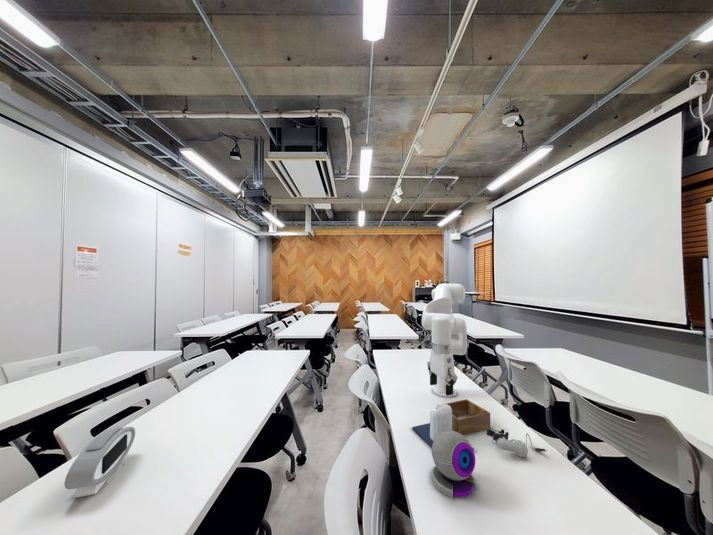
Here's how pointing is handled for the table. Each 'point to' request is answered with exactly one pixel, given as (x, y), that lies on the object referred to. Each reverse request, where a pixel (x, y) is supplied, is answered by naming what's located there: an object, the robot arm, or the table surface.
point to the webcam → (453, 464)
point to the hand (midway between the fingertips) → (441, 389)
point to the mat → (425, 433)
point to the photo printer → (440, 420)
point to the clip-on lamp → (510, 442)
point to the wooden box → (469, 424)
